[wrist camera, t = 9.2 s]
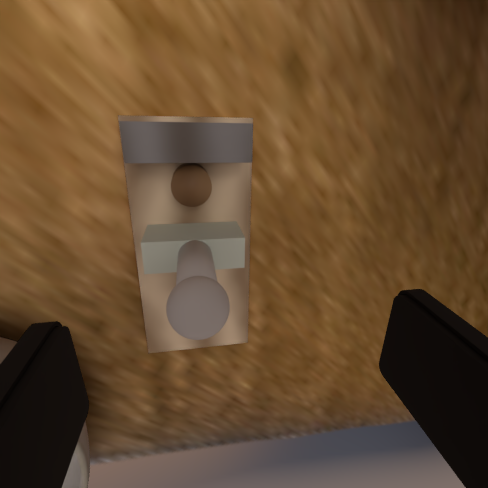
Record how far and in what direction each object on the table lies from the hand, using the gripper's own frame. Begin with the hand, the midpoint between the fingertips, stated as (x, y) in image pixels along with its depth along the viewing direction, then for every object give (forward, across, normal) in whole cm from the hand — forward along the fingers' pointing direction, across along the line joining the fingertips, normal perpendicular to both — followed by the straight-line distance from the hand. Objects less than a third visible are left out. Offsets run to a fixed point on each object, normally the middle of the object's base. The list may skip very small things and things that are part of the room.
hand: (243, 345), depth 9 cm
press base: (+25, +2, +7) cm, 26 cm away
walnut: (+23, +2, 0) cm, 23 cm away
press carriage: (+23, +2, +5) cm, 23 cm away
